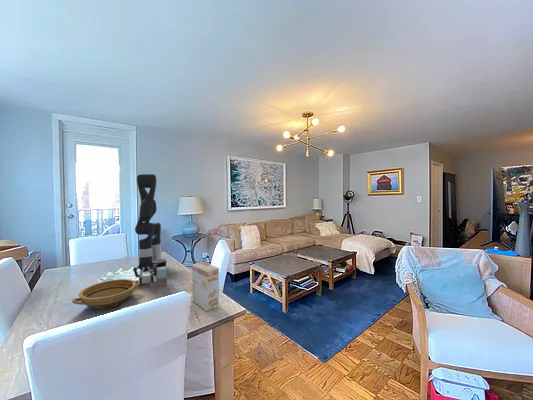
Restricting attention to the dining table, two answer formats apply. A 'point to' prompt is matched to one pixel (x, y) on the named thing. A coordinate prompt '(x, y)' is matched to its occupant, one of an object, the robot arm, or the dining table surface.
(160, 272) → the brick slate
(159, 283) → the brick base
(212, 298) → the coffeecake box
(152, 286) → the build plate
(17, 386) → the dining table surface
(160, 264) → the coffee mug
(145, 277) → the brick sage
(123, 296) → the ceramic bowl
